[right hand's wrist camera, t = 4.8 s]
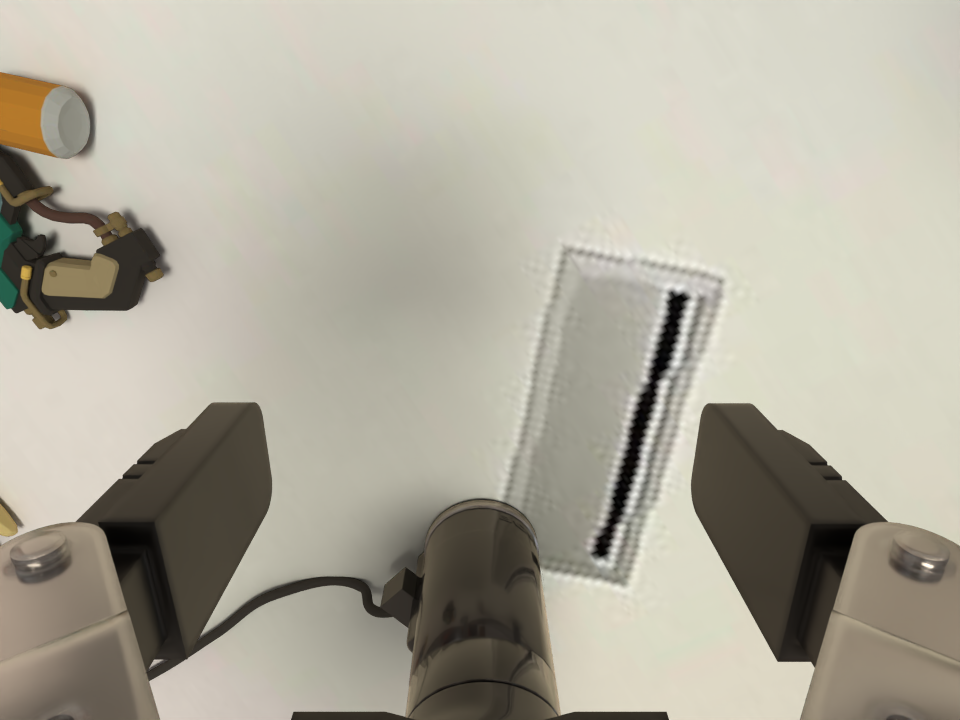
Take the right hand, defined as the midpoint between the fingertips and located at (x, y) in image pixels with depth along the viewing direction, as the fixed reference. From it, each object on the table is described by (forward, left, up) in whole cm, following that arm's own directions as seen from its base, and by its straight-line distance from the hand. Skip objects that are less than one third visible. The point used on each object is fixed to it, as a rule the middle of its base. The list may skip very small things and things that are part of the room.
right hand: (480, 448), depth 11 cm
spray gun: (-20, +22, -32) cm, 44 cm away
